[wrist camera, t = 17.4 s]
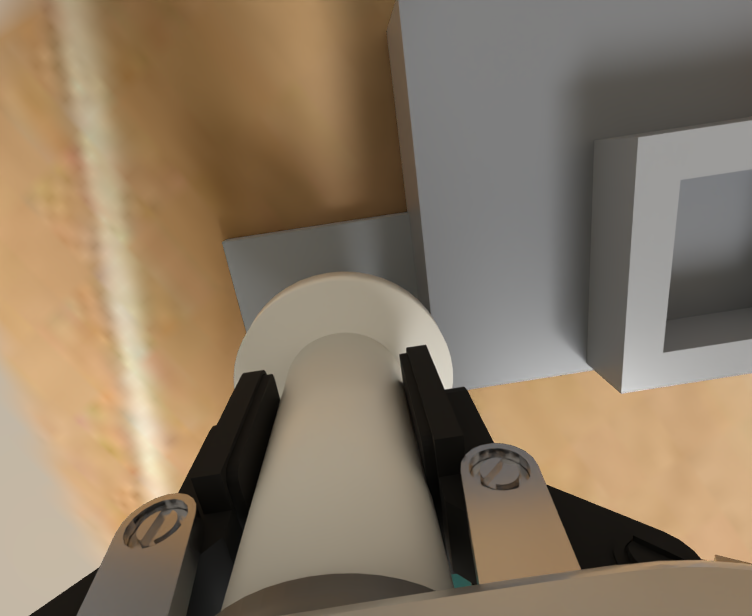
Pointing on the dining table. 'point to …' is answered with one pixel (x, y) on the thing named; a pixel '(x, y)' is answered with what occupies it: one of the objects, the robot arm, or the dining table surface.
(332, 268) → the mat
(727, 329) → the grey base plate
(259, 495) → the plug
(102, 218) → the dining table surface
